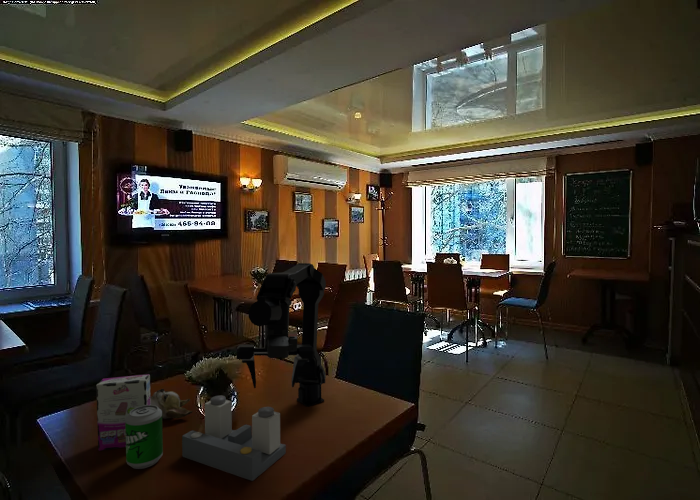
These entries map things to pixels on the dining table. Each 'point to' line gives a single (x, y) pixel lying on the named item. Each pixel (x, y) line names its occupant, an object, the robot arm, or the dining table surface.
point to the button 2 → (266, 430)
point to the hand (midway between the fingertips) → (273, 387)
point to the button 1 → (218, 417)
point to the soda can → (144, 436)
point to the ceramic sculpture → (170, 404)
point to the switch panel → (230, 452)
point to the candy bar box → (118, 407)
